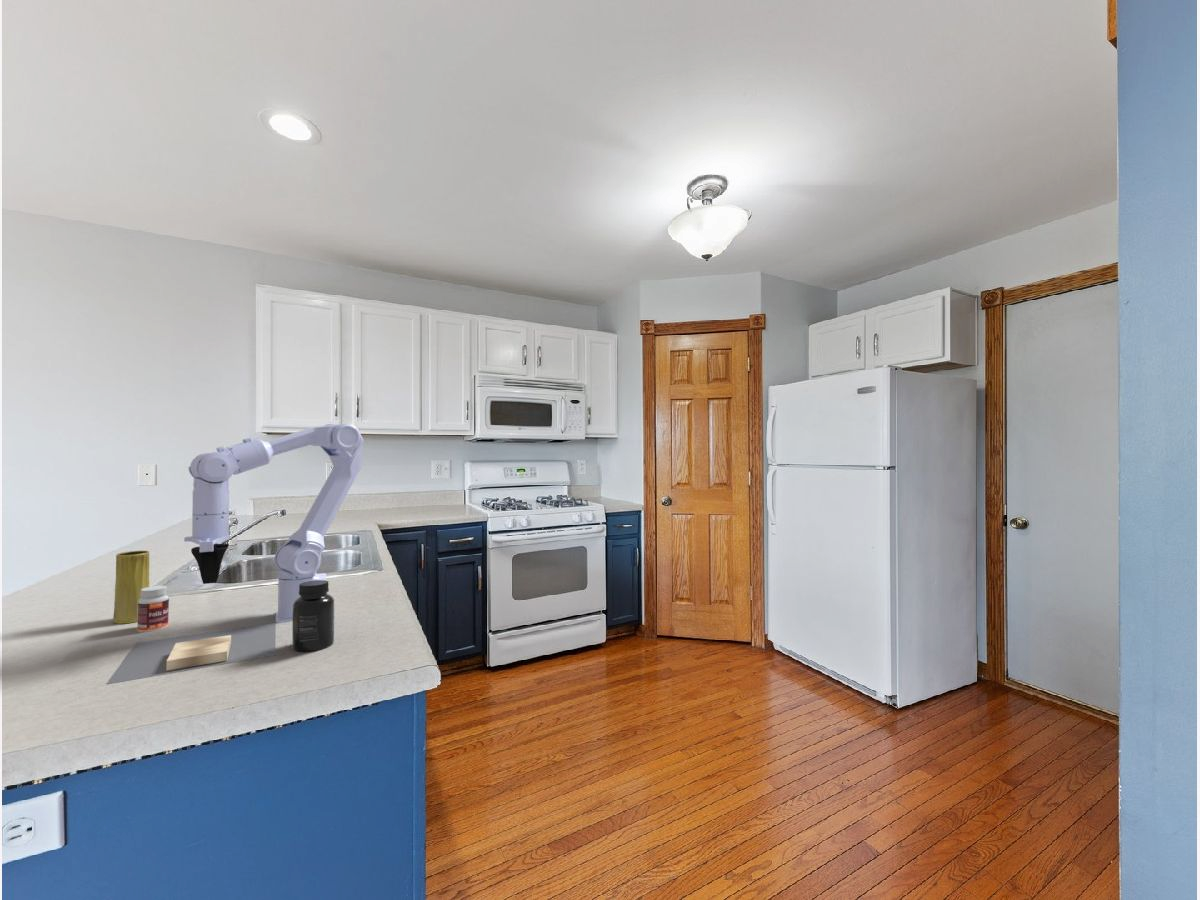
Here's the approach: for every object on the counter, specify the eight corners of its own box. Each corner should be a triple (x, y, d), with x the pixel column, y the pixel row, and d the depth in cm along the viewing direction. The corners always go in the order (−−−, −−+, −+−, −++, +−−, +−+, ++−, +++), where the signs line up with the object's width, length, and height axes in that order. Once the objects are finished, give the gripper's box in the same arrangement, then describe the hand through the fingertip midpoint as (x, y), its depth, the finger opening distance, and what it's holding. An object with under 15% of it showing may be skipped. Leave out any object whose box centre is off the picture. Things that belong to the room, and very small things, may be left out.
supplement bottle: (342, 643, 98) (343, 580, 98) (311, 656, 91) (312, 589, 91) (314, 638, 100) (315, 577, 100) (283, 651, 94) (283, 585, 94)
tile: (231, 635, 96) (227, 651, 88) (231, 644, 96) (226, 661, 88) (175, 643, 91) (166, 660, 84) (175, 653, 91) (166, 671, 84)
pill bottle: (150, 634, 101) (150, 592, 101) (131, 632, 102) (131, 590, 102) (174, 626, 106) (175, 585, 106) (156, 624, 107) (156, 584, 107)
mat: (275, 624, 108) (275, 622, 108) (275, 657, 91) (275, 655, 91) (136, 644, 96) (136, 642, 96) (106, 686, 79) (106, 684, 79)
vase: (128, 615, 113) (129, 550, 113) (158, 614, 113) (159, 550, 113) (104, 624, 107) (105, 555, 107) (136, 624, 107) (136, 555, 107)
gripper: (190, 510, 105) (189, 577, 105) (178, 519, 93) (177, 594, 93) (232, 509, 109) (231, 573, 109) (227, 516, 97) (226, 589, 96)
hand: (210, 582), depth 101 cm, fingers closed
